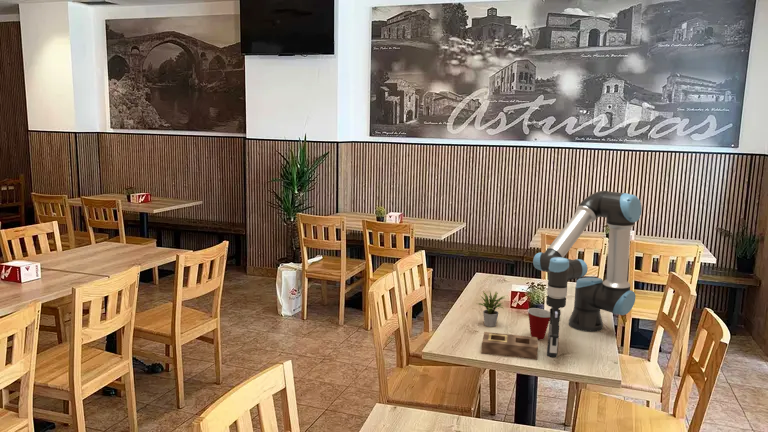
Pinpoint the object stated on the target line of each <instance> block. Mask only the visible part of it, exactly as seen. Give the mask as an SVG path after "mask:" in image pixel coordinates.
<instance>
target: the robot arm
mask: <svg viewBox="0 0 768 432" xmlns="http://www.w3.org/2000/svg"><path fill="white" fill-rule="evenodd" d="M642 211H643V209H642V203H641V200H640V198H638V196H637V195H635V194H631V193H627V192H618V191H610V190H609V191H608V190H599V191H596V192H594V193H592V194H590V195H588V196H587V197H586V198H584V199H582V201H580V203H579V204H578V205H577V206H576V209H575V213H574V214H573V216H572V217H571V218H570V219H569V221H568V222H567V223H566V225H565V226H564V227H563V228H562V230H561V231H560V232H559V234H558V235H557V236H556V238H554V240H553V241H552V243H551V244H550V245H549V246H548V248H547V249H546V250H545V252H542V251H541V252H538V253H536V254H535V255H534V256H533V259H532V264H533V267H534V268H535V269H536V270H538V271H541V272H545V273H548V276H547V277H548V279H547V280H548V281H547V287H545V289H546V290H547V291H546V293H547V295H546V301H545V302H546V306H548V307H551V308H550V309H549V312H550V320H549V324H552V335H550V336H549V337H551V342H550V353H557V354H558V350H557V345H558V346H559V336H560V335H559V334H560V321H561V320H560V319H561V309H562V308H565V307H566V306H567V304H566V303H567V293H568V282H569V280H574V279H576V281H575V282H576V283H575V288H574V289H575V290H574V292H575V293H574V306H573V310H572V312H571V315H570V317H569V319H568V326H569V327H570V328H572V329H575V330H578V331H582V332H589V333H590V332H591V333H593V332H600V331H602V330H603V327H604V322H603V318H602V315H601V310H602V311H606V312H608V313H612V314H614V315H619V316H625V315H627V314H628V313H630V312H631V310H632V309H633V308H634V305H635V303H636V293H635V292H634V290H631V283H630V282H629V281H628V274H629V273H628V272H629V260H630V259H629V257H630V242H631V229H632V228H633V227H634V226H635V223H637V222H639V220H640V219H641V215H642ZM600 217H601V218H605V220H606V224H607V226H608V227H609V229H608V230H609V231H608V249H607V250H608V251H607V264H606V265H607V266H606V267H607V268H606V279H605V280H603V279H602V278H600V277H591V276H589V277H585V276H586V275H587V273H588V265H587V263H586V262H585V260H583V259H579V258H576V259H575V258H574V259H570V258H567V257H565V256H566V254H568V252H569V251H570V250H571V248H572V247H573V245H575V243H576V242H577V240H578V239H579V238H580V236H582V234H583V233H584V231H585V230H586V229H587V227H588V226H589V225H590V224H591V223H594V222H595V221H596V220H597V219H598V218H600ZM554 334H557V335H554Z"/></svg>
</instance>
